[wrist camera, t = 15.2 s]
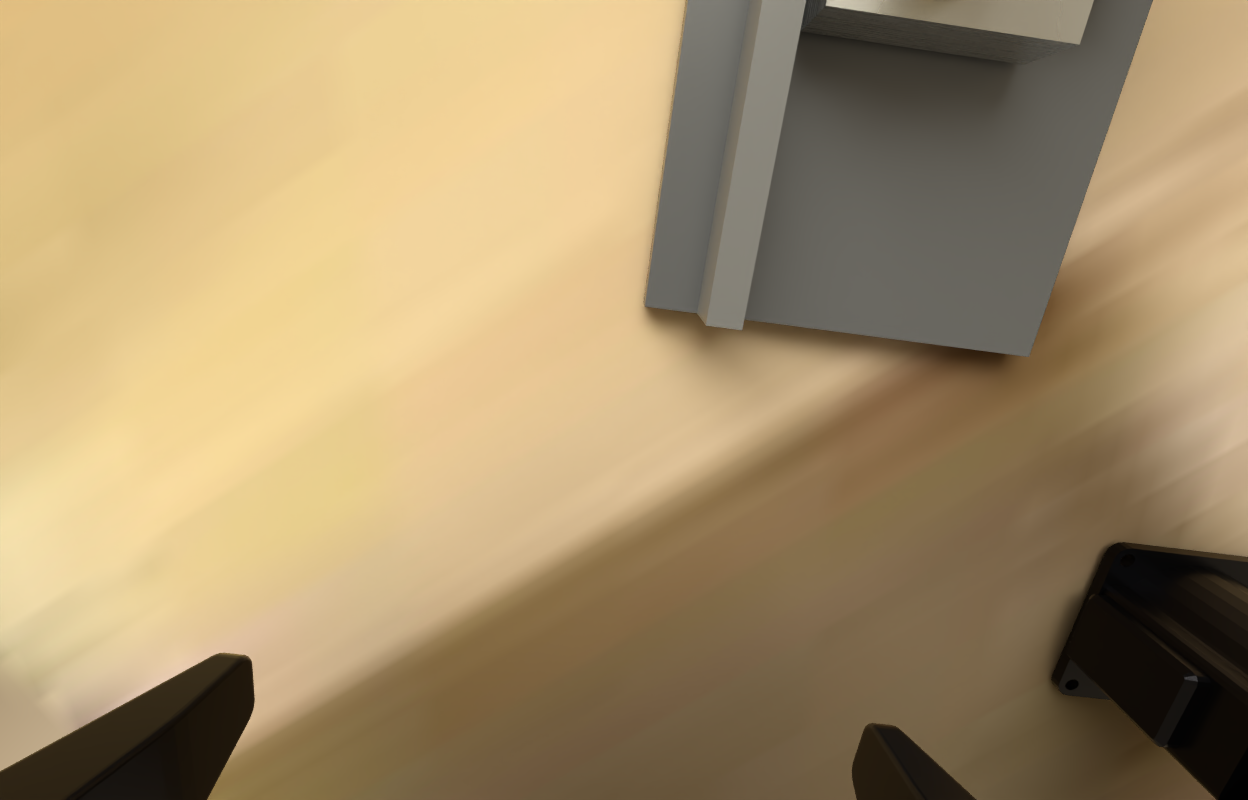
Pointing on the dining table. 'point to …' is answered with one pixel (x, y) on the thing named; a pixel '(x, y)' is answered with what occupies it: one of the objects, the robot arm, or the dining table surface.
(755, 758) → the dining table surface
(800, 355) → the dining table surface
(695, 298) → the guide plate
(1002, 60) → the toothed rack
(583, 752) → the dining table surface
